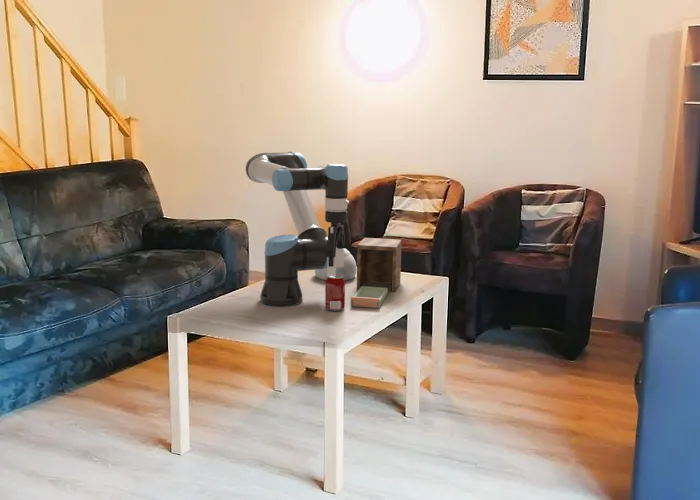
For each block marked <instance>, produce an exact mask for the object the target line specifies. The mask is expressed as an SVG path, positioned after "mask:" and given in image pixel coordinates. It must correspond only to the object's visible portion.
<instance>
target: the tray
mask: <svg viewBox="0 0 700 500" xmlns="http://www.w3.org/2000/svg"><path fill="white" fill-rule="evenodd" d="M387 295H388V287H379V286H367V285H363V286H361V287H360V289H359V290H357V291H356V293H355V294H354V295H353V296H351V297H350V307H360V308H361V307H362V308H373V309H374V308H376V309H379V308H380V307H381V305H383V302H384V300H385V298H386V297H387Z"/></svg>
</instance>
